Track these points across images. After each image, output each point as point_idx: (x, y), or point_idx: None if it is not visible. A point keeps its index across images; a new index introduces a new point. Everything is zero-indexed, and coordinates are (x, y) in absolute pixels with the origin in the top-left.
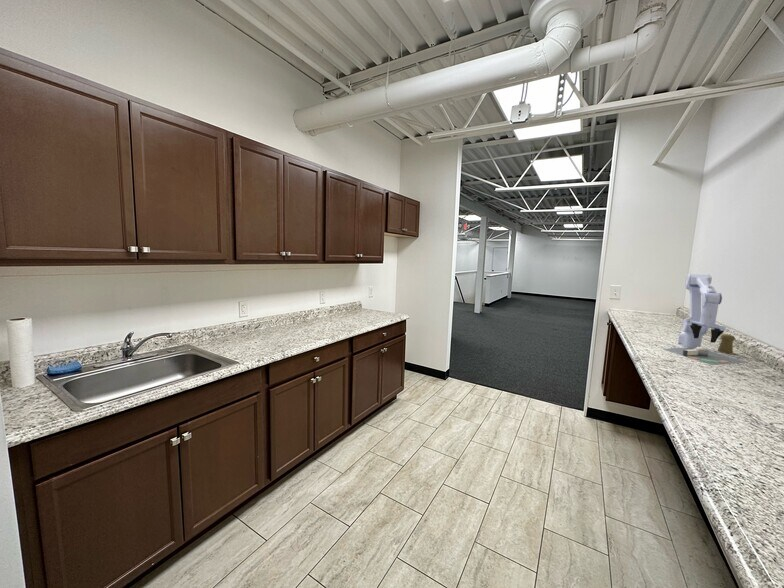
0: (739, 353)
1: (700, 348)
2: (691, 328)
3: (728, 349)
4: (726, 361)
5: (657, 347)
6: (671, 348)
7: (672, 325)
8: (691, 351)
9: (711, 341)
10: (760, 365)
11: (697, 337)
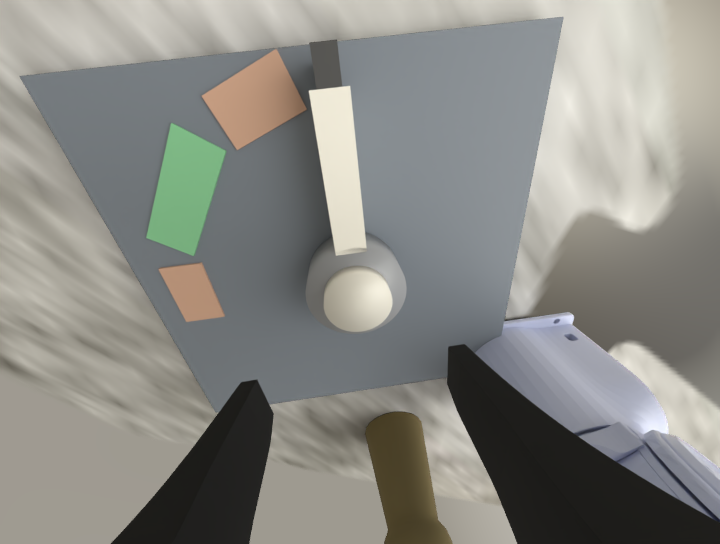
0: None
1: (340, 280)
2: (663, 495)
3: (377, 460)
4: (192, 311)
5: (620, 114)
6: (530, 172)
7: None
8: (319, 152)
9: (242, 391)
10: None
11: (451, 383)
